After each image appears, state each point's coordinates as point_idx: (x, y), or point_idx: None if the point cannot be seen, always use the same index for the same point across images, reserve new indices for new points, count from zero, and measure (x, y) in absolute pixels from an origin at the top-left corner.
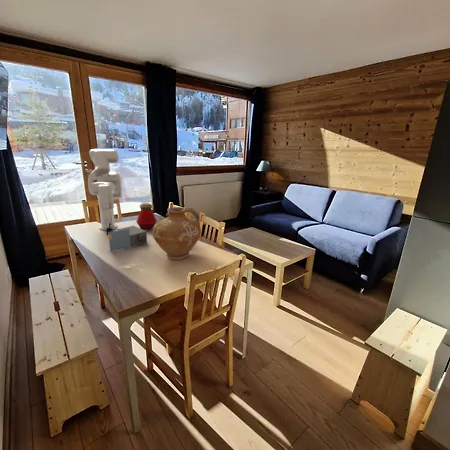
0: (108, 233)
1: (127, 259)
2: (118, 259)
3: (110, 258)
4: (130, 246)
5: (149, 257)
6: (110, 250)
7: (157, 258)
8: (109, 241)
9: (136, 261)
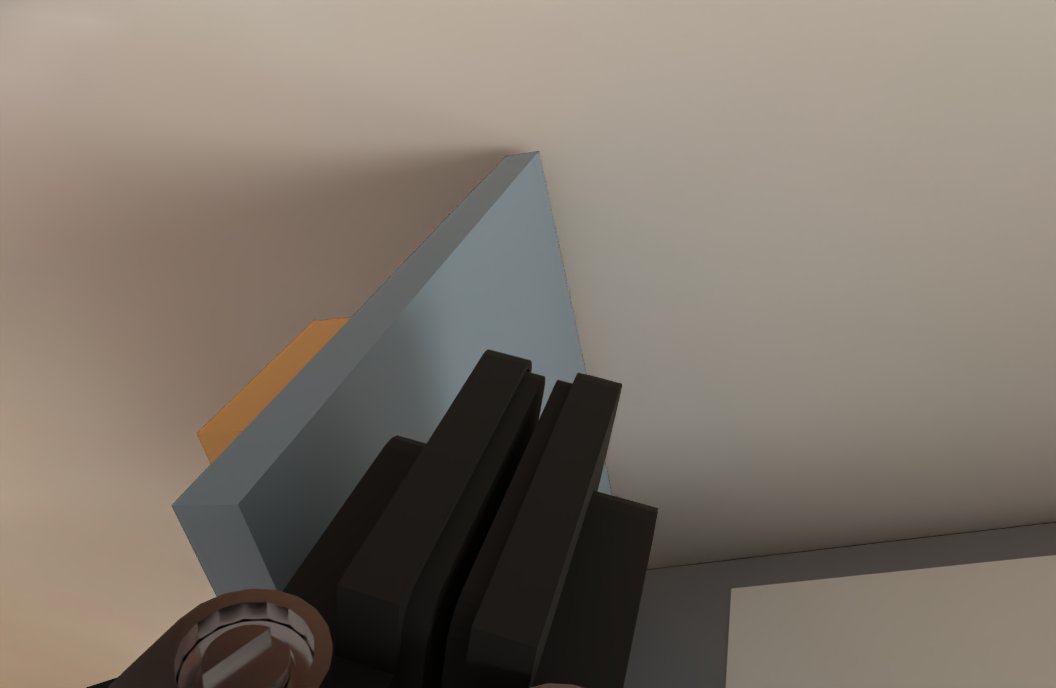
0: (235, 460)
1: (85, 362)
2: (103, 229)
3: (171, 91)
4: (647, 576)
5: (114, 622)
6: (499, 166)
7: (72, 675)
8: (394, 273)
9: (3, 450)
